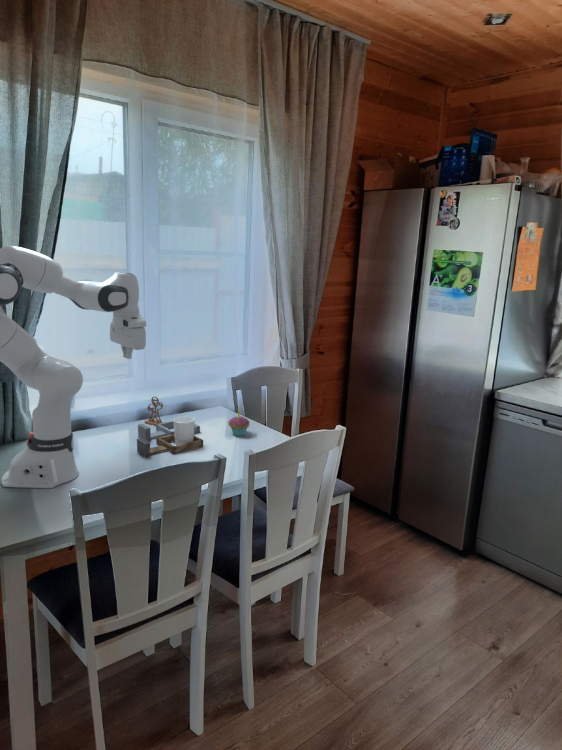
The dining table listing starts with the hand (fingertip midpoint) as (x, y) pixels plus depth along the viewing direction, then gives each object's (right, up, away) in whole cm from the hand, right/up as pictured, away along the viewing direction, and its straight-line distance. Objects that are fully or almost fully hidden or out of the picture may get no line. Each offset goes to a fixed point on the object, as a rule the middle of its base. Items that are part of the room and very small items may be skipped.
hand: (127, 358), depth 196 cm
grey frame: (+9, -29, +25) cm, 39 cm away
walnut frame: (+13, -33, +10) cm, 37 cm away
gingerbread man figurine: (+2, -27, +36) cm, 45 cm away
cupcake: (+37, -30, +28) cm, 56 cm away
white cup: (+18, -33, +14) cm, 40 cm away
